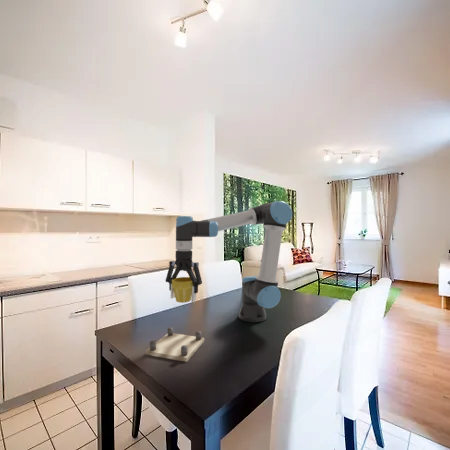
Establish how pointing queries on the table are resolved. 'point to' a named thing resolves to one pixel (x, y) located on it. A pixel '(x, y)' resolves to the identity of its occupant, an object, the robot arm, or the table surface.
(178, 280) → the plant pot
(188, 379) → the table surface
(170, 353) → the stub plate
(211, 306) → the table surface
